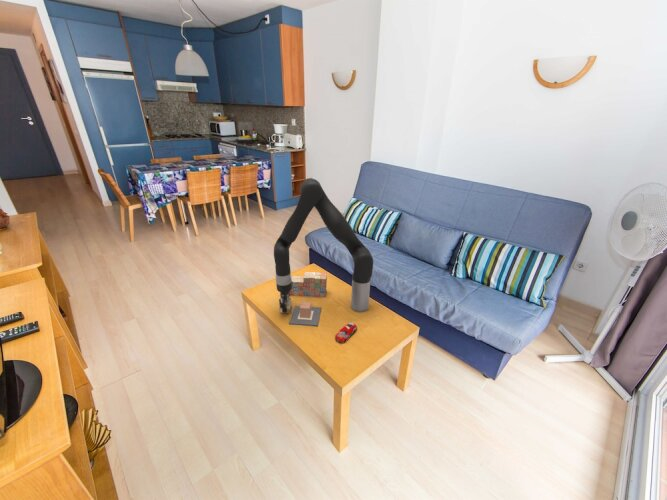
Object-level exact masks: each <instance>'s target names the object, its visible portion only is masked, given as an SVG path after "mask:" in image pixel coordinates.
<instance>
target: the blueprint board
mask: <svg viewBox="0 0 667 500" xmlns="http://www.w3.org/2000/svg"><path fill="white" fill-rule="evenodd" d="M321 312H322V307H321V306H319V307H318V306H311V316H310V318H300V305H294V307H293V311H292V313H291V316H290V318H289V322H288V325H291V326H292V325H293V326H306V327H307V326H309V327H318V325H319V323H320V316H321Z"/></svg>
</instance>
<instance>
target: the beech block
mask: <svg viewBox="0 0 667 500" xmlns="http://www.w3.org/2000/svg"><path fill="white" fill-rule="evenodd" d="M292 303H293V301H292V297H289V298H288V302H287V312H286V313H285V314H290V313H291V311H292V308H293V305H292ZM278 304H279V306H280V303H279V302H278ZM279 313H283V312H282V308H280V307H279ZM283 314H284V313H283Z"/></svg>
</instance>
